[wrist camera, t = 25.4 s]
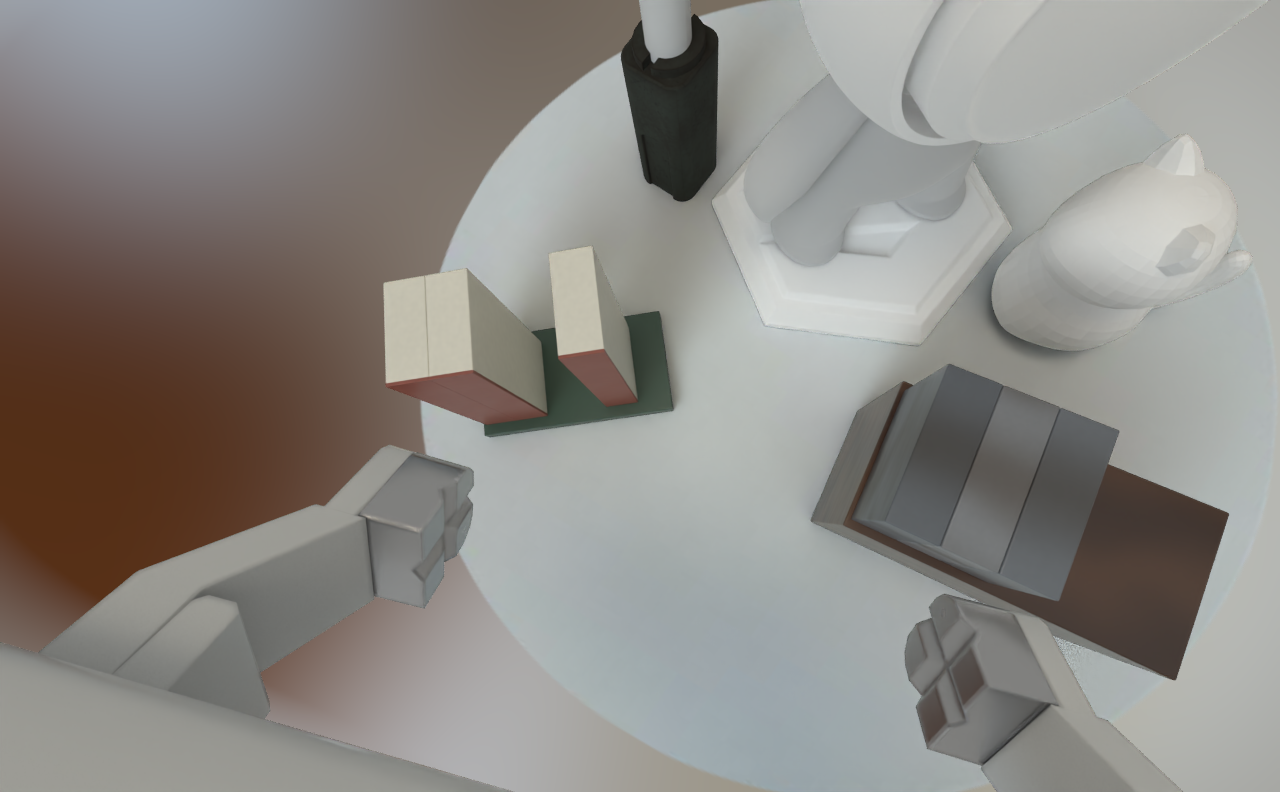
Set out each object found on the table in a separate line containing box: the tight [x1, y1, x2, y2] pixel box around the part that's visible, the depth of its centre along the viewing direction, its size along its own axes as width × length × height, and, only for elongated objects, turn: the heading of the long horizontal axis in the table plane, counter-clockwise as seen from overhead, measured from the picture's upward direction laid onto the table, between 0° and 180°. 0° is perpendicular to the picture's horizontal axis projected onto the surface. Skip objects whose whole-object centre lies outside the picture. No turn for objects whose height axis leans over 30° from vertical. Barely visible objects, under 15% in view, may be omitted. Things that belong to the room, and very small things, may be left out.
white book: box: [549, 246, 638, 407], centre depth 36 cm, size 6×2×14 cm, turn 7°
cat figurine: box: [992, 134, 1253, 351], centre depth 34 cm, size 9×12×15 cm
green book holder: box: [384, 268, 673, 437], centre depth 37 cm, size 8×15×15 cm, turn 97°
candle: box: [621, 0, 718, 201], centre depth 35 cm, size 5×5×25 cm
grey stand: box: [811, 364, 1229, 680], centre depth 31 cm, size 9×17×16 cm, turn 64°
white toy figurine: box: [712, 0, 1269, 346], centre depth 27 cm, size 20×23×35 cm
